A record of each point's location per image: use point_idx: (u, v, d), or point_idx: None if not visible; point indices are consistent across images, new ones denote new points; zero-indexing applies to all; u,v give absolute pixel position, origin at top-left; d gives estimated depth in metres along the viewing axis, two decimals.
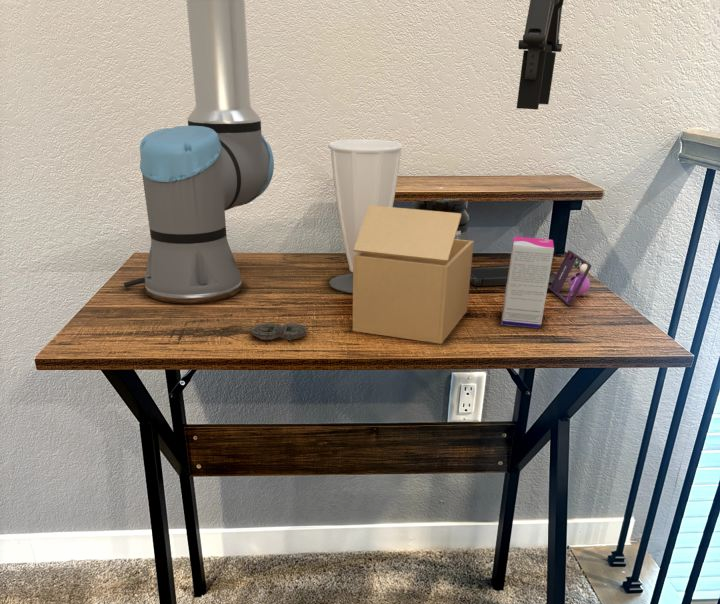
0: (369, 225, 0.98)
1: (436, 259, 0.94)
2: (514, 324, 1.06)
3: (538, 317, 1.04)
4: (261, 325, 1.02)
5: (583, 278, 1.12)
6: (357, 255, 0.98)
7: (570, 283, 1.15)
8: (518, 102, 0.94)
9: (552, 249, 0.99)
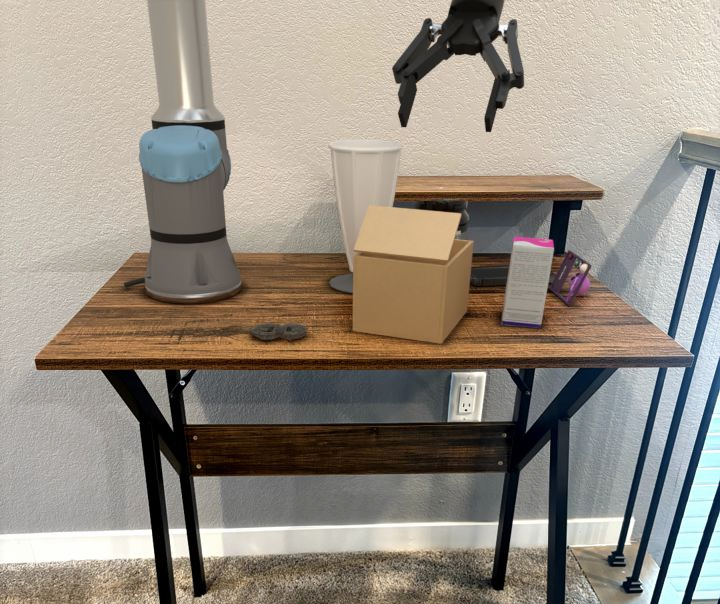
0: (369, 225, 0.98)
1: (436, 259, 0.94)
2: (514, 324, 1.06)
3: (538, 317, 1.04)
4: (261, 325, 1.02)
5: (583, 278, 1.12)
6: (357, 255, 0.98)
7: (570, 283, 1.15)
8: (490, 114, 1.00)
9: (552, 249, 0.99)
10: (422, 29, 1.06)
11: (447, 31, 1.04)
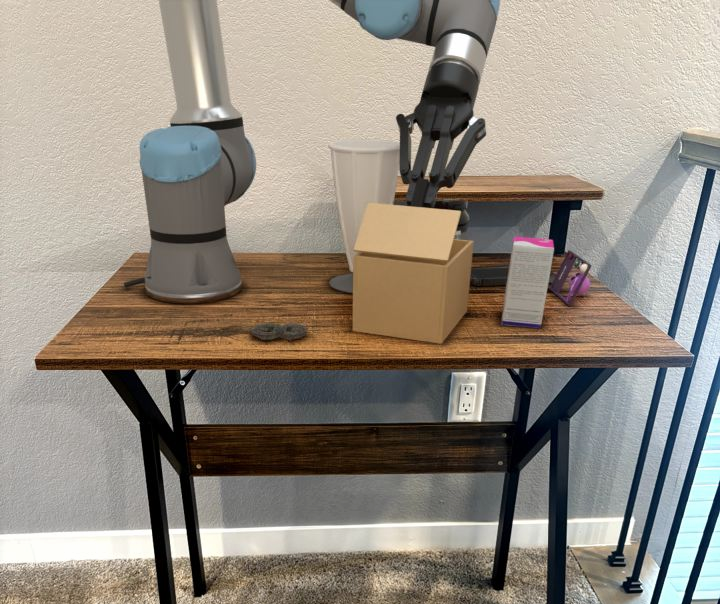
0: (369, 224, 0.98)
1: (436, 259, 0.94)
2: (514, 324, 1.06)
3: (538, 317, 1.04)
4: (261, 325, 1.02)
5: (583, 278, 1.12)
6: (357, 255, 0.98)
7: (570, 283, 1.15)
8: None
9: (552, 249, 0.99)
10: (400, 126, 1.01)
11: (426, 121, 1.00)
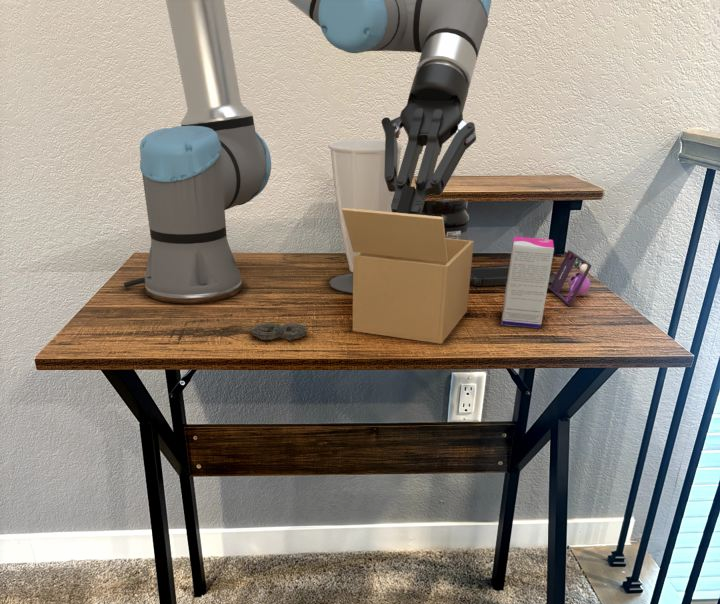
0: (355, 230, 0.93)
1: (436, 260, 0.94)
2: (514, 324, 1.06)
3: (538, 317, 1.04)
4: (261, 325, 1.02)
5: (583, 278, 1.12)
6: (357, 255, 0.98)
7: (570, 283, 1.15)
8: None
9: (552, 249, 0.99)
10: (386, 130, 0.96)
11: (413, 125, 0.95)
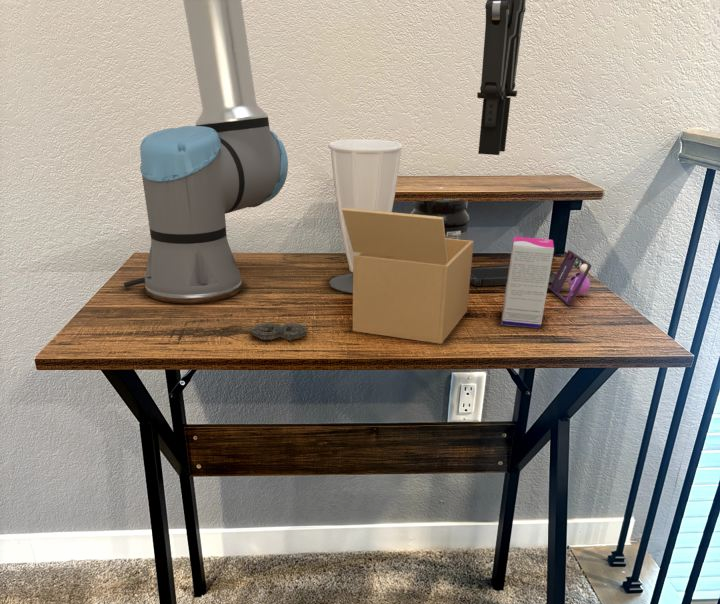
0: (355, 230, 0.93)
1: (436, 260, 0.94)
2: (514, 324, 1.06)
3: (538, 317, 1.04)
4: (261, 325, 1.02)
5: (583, 278, 1.12)
6: (357, 255, 0.98)
7: (570, 283, 1.15)
8: (480, 148, 0.97)
9: (552, 249, 0.99)
10: None
11: None
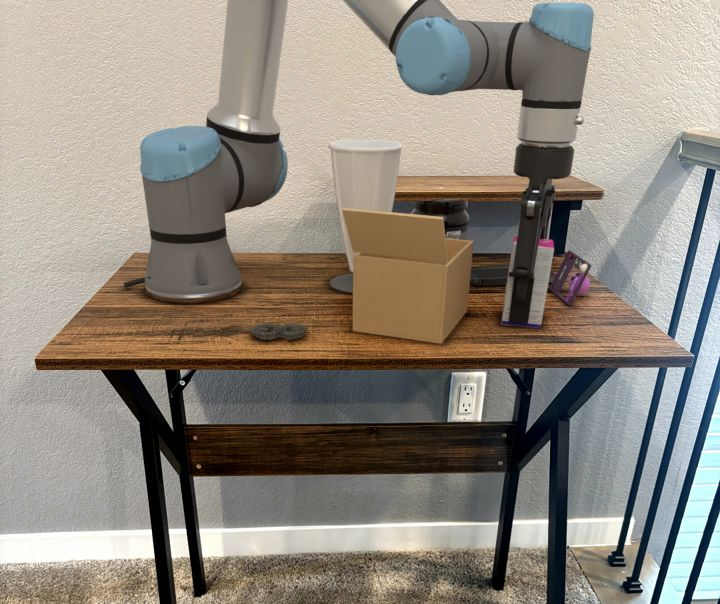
0: (355, 230, 0.93)
1: (436, 260, 0.94)
2: (514, 324, 1.06)
3: (538, 317, 1.04)
4: (261, 325, 1.02)
5: (583, 278, 1.12)
6: (357, 255, 0.98)
7: (570, 283, 1.15)
8: (510, 317, 1.04)
9: (552, 249, 0.99)
10: None
11: None
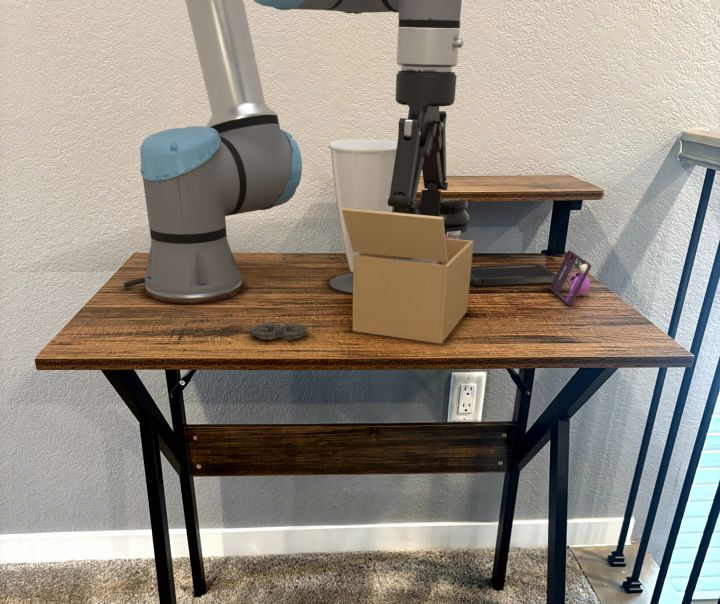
0: (355, 230, 0.93)
1: (436, 260, 0.94)
2: None
3: None
4: (261, 325, 1.02)
5: (583, 278, 1.12)
6: (357, 255, 0.98)
7: (570, 283, 1.15)
8: None
9: None
10: None
11: None
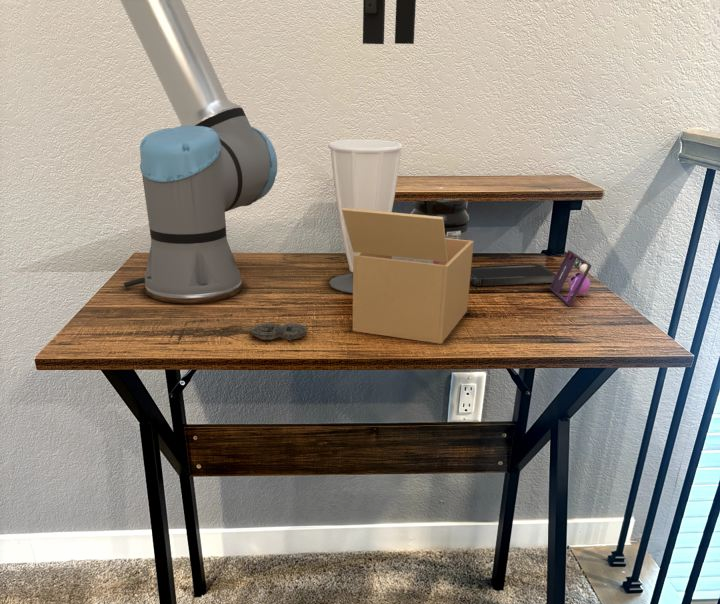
0: (355, 230, 0.93)
1: (436, 260, 0.94)
2: None
3: None
4: (261, 325, 1.02)
5: (583, 278, 1.12)
6: (357, 255, 0.98)
7: (570, 283, 1.15)
8: (364, 37, 0.96)
9: None
10: None
11: None
